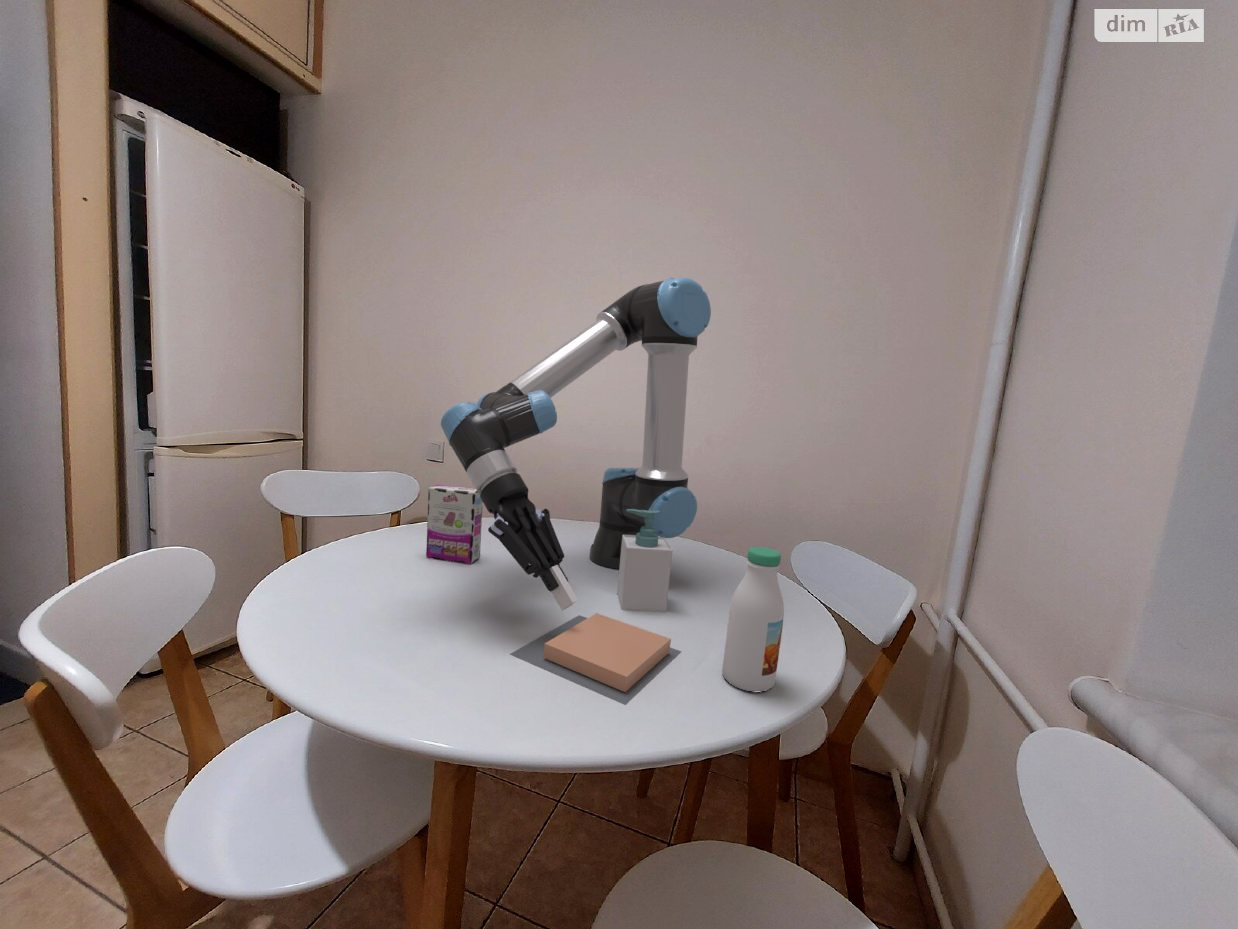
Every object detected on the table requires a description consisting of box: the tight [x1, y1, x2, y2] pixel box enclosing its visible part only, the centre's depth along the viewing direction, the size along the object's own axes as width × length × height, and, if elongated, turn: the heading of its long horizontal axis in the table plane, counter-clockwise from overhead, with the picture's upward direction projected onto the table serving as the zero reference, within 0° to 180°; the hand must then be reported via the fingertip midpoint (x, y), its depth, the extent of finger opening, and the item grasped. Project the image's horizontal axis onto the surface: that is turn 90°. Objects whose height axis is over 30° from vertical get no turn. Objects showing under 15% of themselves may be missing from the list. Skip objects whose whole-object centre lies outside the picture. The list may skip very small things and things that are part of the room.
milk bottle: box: [721, 546, 785, 692], centre depth 76 cm, size 8×8×20 cm
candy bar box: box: [425, 484, 484, 565], centre depth 117 cm, size 11×5×16 cm, turn 81°
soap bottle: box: [616, 509, 673, 613], centre depth 100 cm, size 9×9×19 cm
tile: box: [543, 612, 672, 692], centre depth 78 cm, size 2×14×14 cm
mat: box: [509, 614, 682, 706], centre depth 79 cm, size 20×18×1 cm
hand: (570, 605), depth 81 cm, fingers closed
